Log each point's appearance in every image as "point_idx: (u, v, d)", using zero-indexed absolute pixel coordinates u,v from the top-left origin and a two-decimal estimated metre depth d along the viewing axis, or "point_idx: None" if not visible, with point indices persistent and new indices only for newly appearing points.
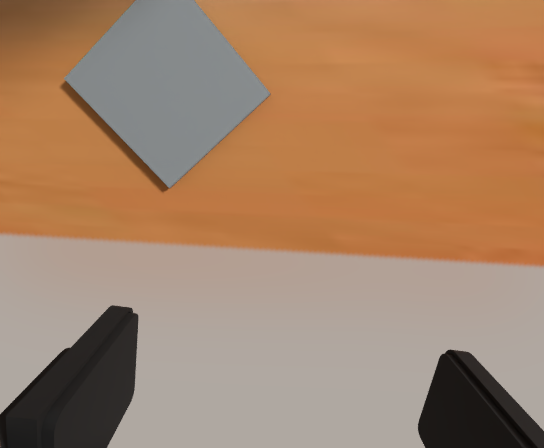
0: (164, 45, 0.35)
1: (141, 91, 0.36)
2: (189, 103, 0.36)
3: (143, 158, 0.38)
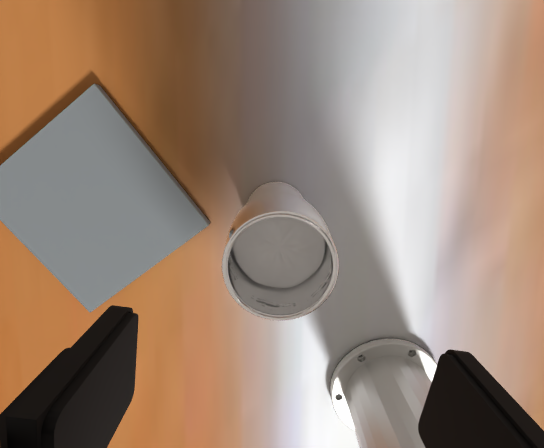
0: (134, 211, 0.31)
1: (84, 176, 0.31)
2: (74, 229, 0.32)
3: (5, 164, 0.30)
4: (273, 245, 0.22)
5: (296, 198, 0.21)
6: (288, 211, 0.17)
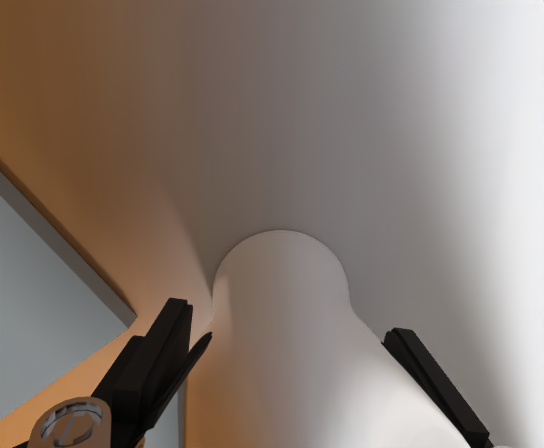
0: None
1: None
2: None
3: None
4: None
5: None
6: None
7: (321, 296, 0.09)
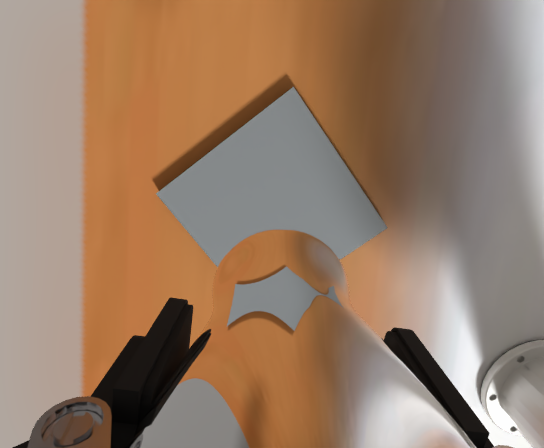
0: (315, 214, 0.32)
1: (270, 179, 0.31)
2: (253, 231, 0.32)
3: (193, 168, 0.30)
4: None
5: None
6: None
7: (322, 293, 0.09)
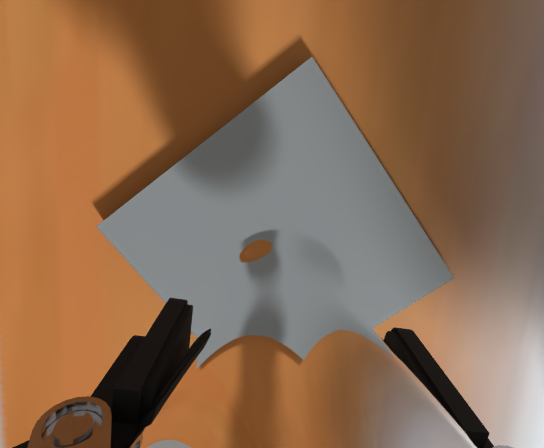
0: (343, 257, 0.20)
1: (274, 205, 0.20)
2: None
3: (153, 187, 0.19)
4: None
5: None
6: None
7: (322, 293, 0.09)
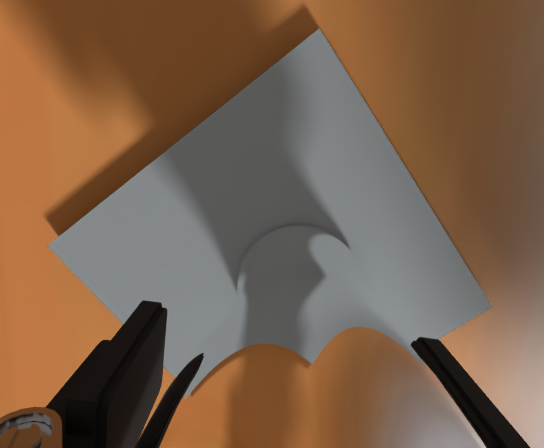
0: None
1: (271, 219, 0.16)
2: None
3: (117, 196, 0.15)
4: None
5: (398, 401, 0.05)
6: None
7: (333, 278, 0.10)
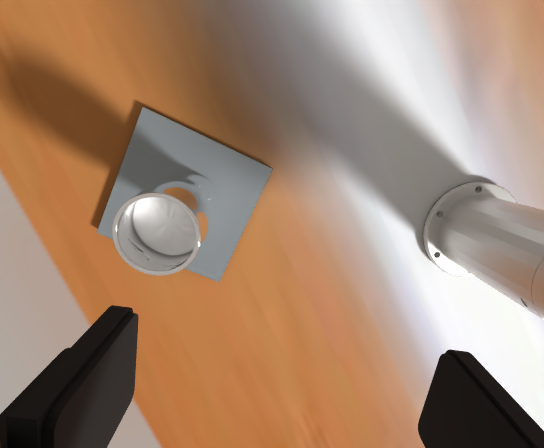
0: (214, 187, 0.39)
1: (167, 180, 0.38)
2: None
3: (110, 201, 0.39)
4: (165, 223, 0.28)
5: (159, 183, 0.27)
6: (137, 196, 0.24)
7: None
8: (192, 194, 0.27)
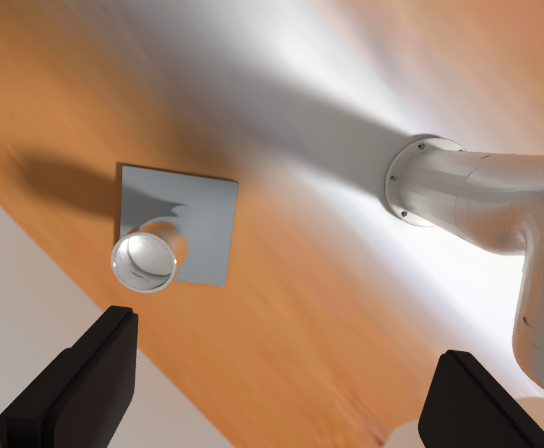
0: (196, 211, 0.47)
1: None
2: None
3: None
4: (153, 252, 0.37)
5: (139, 224, 0.36)
6: (120, 239, 0.32)
7: None
8: (164, 225, 0.35)
